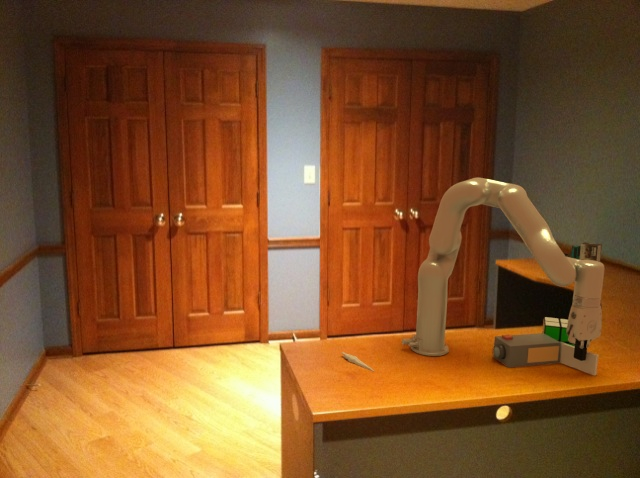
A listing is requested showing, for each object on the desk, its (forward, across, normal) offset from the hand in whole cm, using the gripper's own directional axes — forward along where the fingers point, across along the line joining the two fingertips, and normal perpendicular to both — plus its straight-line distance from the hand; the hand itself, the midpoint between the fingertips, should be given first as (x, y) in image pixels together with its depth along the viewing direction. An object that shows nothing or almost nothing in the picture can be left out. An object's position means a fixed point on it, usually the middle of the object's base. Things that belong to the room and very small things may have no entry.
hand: (579, 358), depth 175 cm
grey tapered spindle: (+6, -59, +32) cm, 68 cm away
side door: (+4, +2, +2) cm, 6 cm away
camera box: (+5, -7, +14) cm, 17 cm away
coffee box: (+5, +120, +95) cm, 153 cm away
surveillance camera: (+5, +127, +113) cm, 170 cm away
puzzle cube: (+5, +9, +16) cm, 20 cm away
